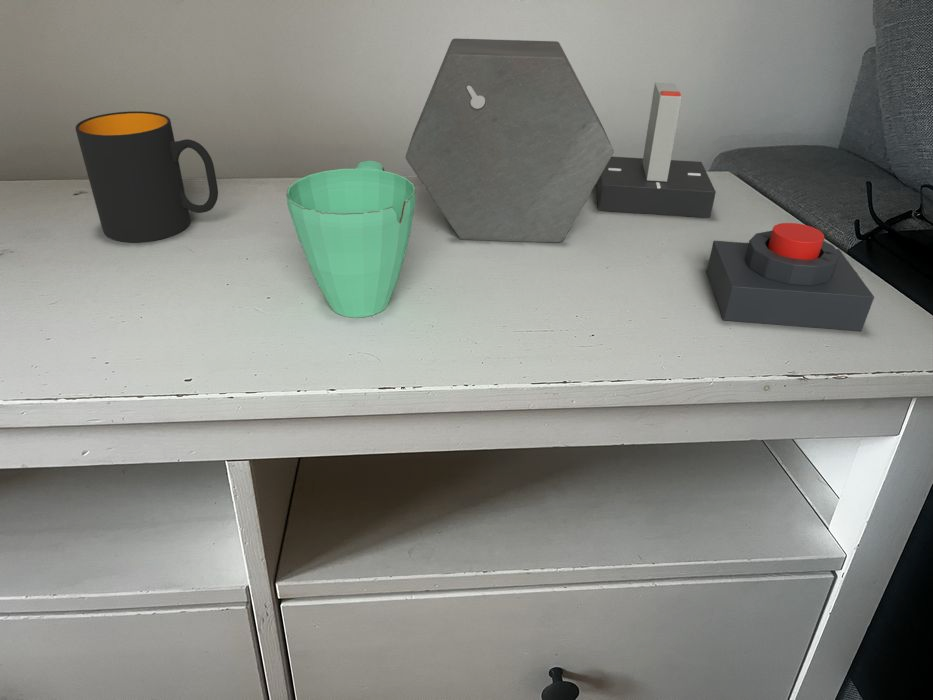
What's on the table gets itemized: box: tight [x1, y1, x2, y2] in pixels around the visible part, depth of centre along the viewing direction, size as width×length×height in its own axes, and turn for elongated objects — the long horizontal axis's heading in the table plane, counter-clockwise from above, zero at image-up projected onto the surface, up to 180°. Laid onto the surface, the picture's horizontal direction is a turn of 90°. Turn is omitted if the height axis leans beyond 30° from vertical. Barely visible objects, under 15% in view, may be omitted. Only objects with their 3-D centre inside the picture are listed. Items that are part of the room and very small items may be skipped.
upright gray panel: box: [642, 82, 683, 182], centre depth 79 cm, size 6×2×9 cm, turn 173°
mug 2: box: [285, 160, 416, 319], centre depth 60 cm, size 15×10×10 cm
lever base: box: [596, 156, 717, 219], centre depth 82 cm, size 12×10×3 cm
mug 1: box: [75, 110, 219, 244], centre depth 70 cm, size 8×12×10 cm
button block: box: [706, 230, 875, 332], centre depth 61 cm, size 11×9×5 cm
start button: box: [768, 222, 825, 260], centre depth 60 cm, size 4×4×2 cm
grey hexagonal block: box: [405, 37, 615, 243], centre depth 70 cm, size 17×8×21 cm
